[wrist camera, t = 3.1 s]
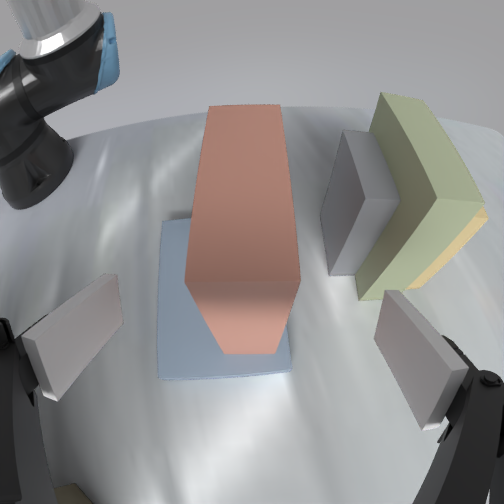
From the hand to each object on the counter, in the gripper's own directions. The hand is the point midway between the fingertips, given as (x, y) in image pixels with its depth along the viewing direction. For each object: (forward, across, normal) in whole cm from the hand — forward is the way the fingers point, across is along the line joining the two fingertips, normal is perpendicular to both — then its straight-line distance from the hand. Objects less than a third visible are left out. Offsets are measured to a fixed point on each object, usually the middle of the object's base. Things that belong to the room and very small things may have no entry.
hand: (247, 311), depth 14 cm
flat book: (+16, -4, -6) cm, 17 cm away
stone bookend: (+20, +9, -1) cm, 22 cm away
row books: (+20, +14, -2) cm, 25 cm away
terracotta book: (+14, -1, -5) cm, 15 cm away
